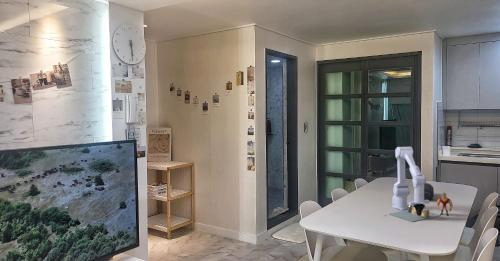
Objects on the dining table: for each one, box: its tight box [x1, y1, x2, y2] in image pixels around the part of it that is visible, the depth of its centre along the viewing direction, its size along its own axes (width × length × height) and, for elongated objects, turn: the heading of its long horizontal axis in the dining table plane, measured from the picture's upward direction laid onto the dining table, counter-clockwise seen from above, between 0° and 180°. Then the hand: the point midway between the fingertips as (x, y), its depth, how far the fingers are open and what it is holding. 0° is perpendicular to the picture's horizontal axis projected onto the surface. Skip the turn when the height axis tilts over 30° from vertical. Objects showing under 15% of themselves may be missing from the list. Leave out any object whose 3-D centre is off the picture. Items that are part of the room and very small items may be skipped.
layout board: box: [388, 209, 442, 223], centre depth 236 cm, size 19×26×1 cm
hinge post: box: [407, 204, 413, 213], centre depth 241 cm, size 2×2×4 cm
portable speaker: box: [424, 182, 435, 201], centre depth 280 cm, size 25×10×10 cm, turn 153°
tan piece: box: [412, 207, 430, 217], centre depth 234 cm, size 13×1×4 cm, turn 27°
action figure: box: [436, 192, 453, 217], centre depth 235 cm, size 9×4×15 cm, turn 53°
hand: (418, 215), depth 230 cm, fingers closed
